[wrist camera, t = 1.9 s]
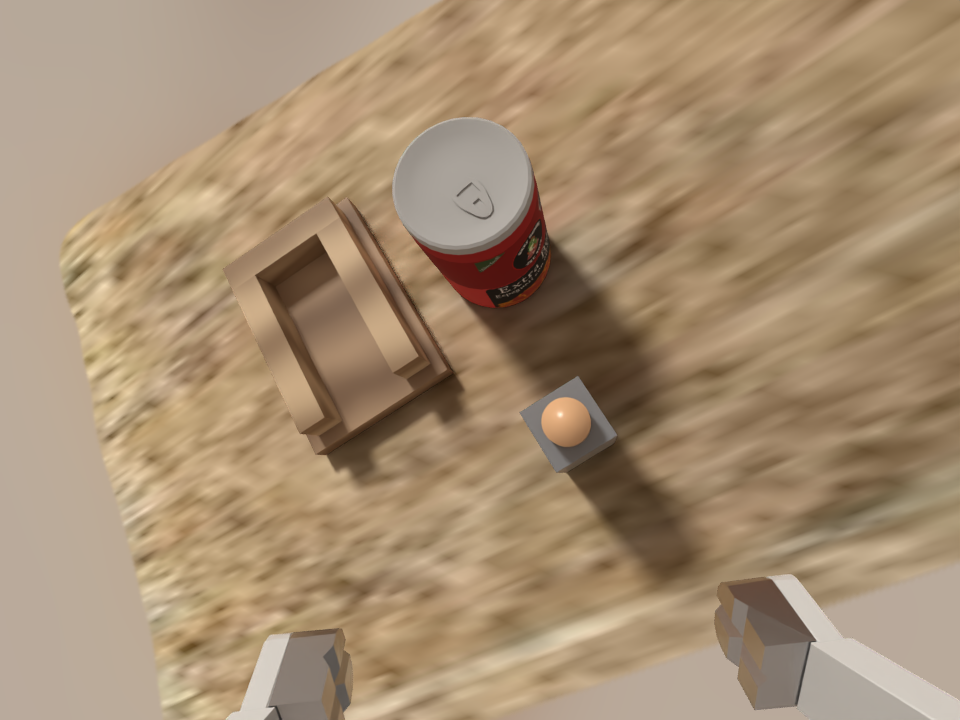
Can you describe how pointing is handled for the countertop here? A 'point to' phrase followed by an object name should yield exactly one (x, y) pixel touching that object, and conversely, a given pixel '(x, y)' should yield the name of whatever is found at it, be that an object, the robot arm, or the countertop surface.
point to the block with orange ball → (569, 426)
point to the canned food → (475, 210)
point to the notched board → (334, 324)
